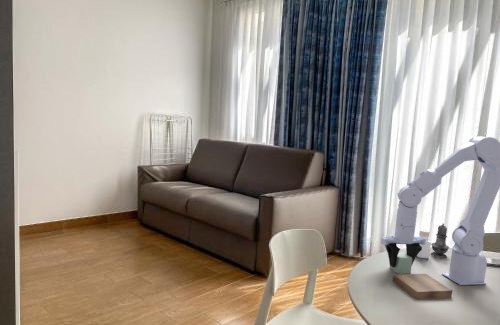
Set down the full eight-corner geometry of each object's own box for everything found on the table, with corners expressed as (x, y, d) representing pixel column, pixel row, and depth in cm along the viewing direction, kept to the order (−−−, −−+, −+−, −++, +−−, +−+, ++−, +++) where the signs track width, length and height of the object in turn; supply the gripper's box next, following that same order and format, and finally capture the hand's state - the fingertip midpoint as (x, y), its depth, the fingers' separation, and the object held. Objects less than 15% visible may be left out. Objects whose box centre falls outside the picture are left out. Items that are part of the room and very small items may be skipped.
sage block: (401, 267, 126) (403, 252, 125) (410, 273, 121) (412, 258, 121) (389, 267, 125) (391, 252, 124) (397, 273, 120) (399, 258, 120)
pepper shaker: (429, 259, 135) (433, 232, 134) (418, 258, 135) (421, 232, 134) (424, 255, 139) (427, 229, 138) (413, 254, 139) (416, 228, 138)
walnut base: (425, 280, 116) (425, 273, 116) (451, 297, 106) (452, 290, 106) (392, 281, 114) (393, 274, 114) (416, 299, 103) (417, 291, 103)
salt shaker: (450, 259, 136) (454, 226, 135) (432, 256, 138) (436, 224, 136) (445, 253, 142) (449, 222, 141) (428, 251, 143) (432, 220, 142)
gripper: (417, 221, 126) (412, 260, 128) (377, 220, 123) (373, 261, 125) (432, 227, 120) (426, 269, 121) (390, 227, 116) (385, 270, 118)
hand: (400, 266), depth 123 cm, fingers open, 5 cm apart
